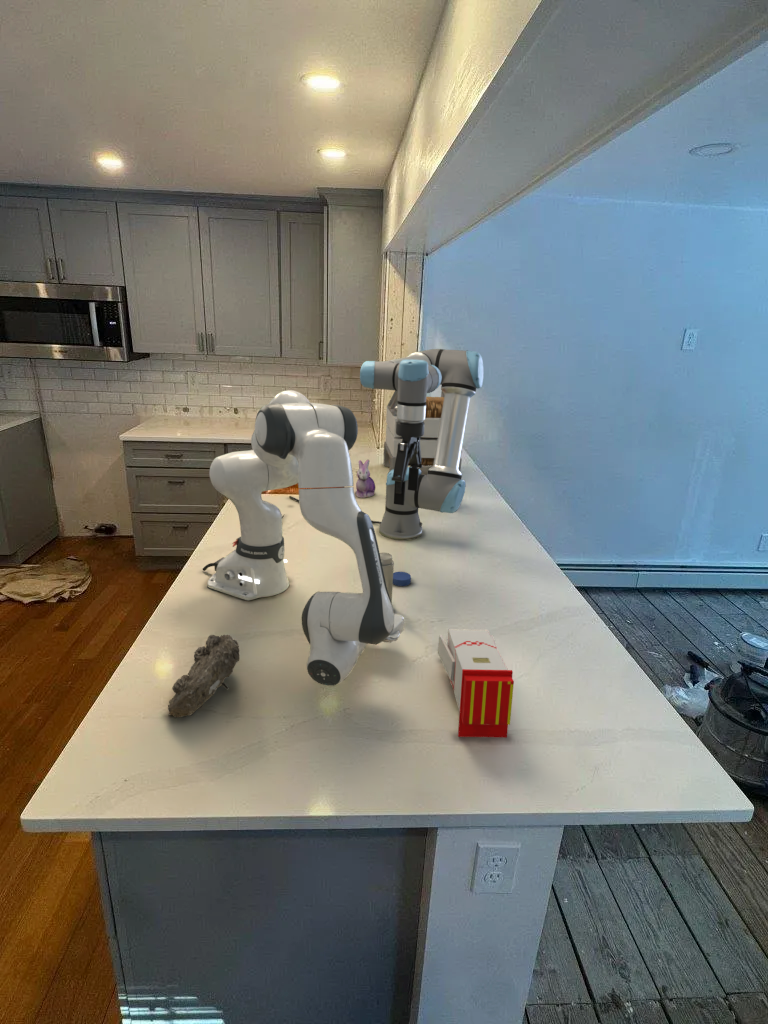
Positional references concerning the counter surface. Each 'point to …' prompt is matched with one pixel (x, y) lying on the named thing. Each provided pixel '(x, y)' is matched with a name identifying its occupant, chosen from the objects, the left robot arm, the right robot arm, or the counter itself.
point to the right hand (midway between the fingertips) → (406, 497)
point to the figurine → (364, 481)
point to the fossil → (204, 675)
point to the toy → (478, 682)
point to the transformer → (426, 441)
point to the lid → (401, 578)
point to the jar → (388, 571)
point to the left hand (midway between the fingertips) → (369, 604)
